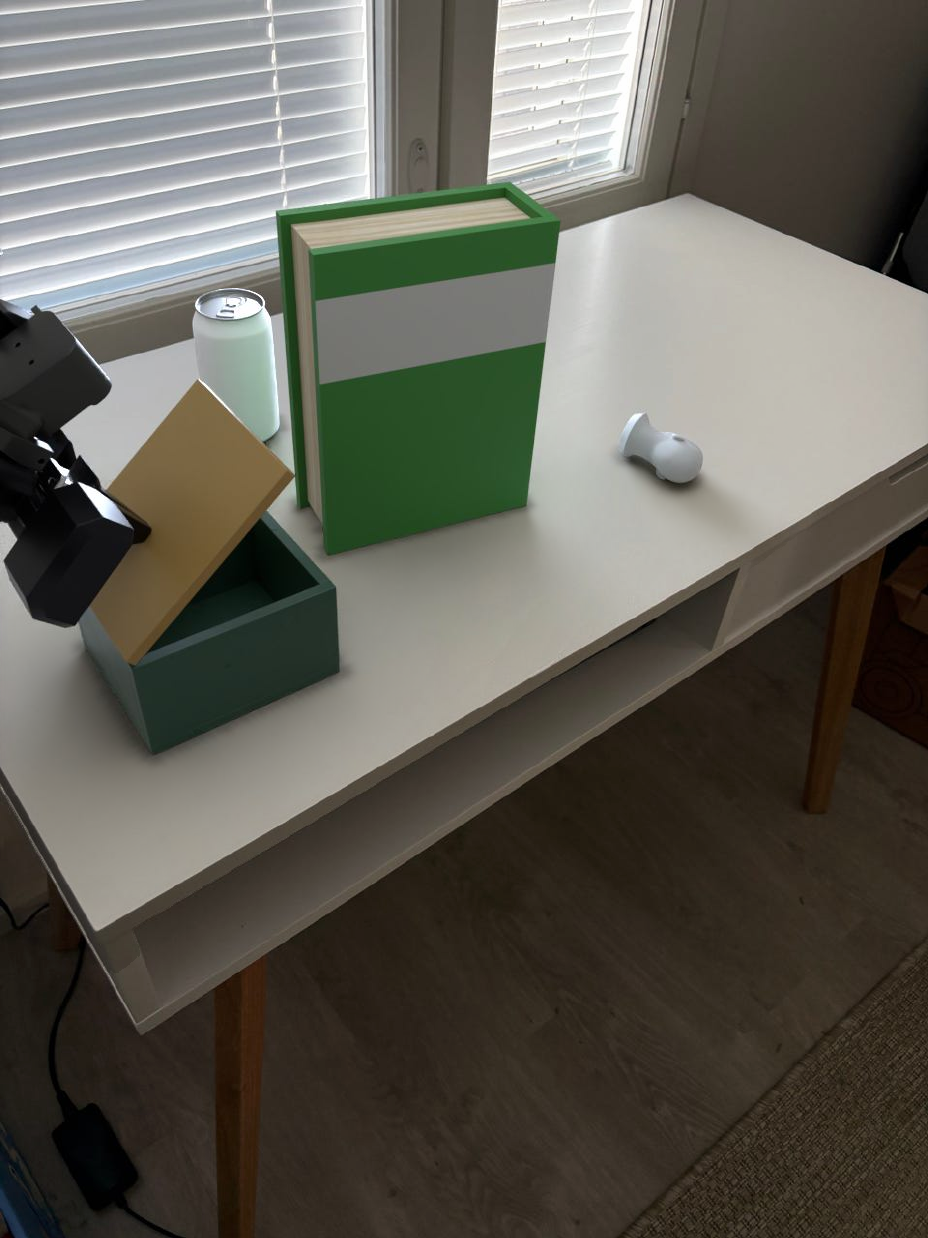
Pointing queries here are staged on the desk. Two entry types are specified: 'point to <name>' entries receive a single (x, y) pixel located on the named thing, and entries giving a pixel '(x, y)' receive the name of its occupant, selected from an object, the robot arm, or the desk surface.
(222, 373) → the can
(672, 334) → the desk surface
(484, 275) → the hardback book
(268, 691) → the dark green open box
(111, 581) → the lid
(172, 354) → the desk surface
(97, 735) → the desk surface
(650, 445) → the smooth white sculpture
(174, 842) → the desk surface
